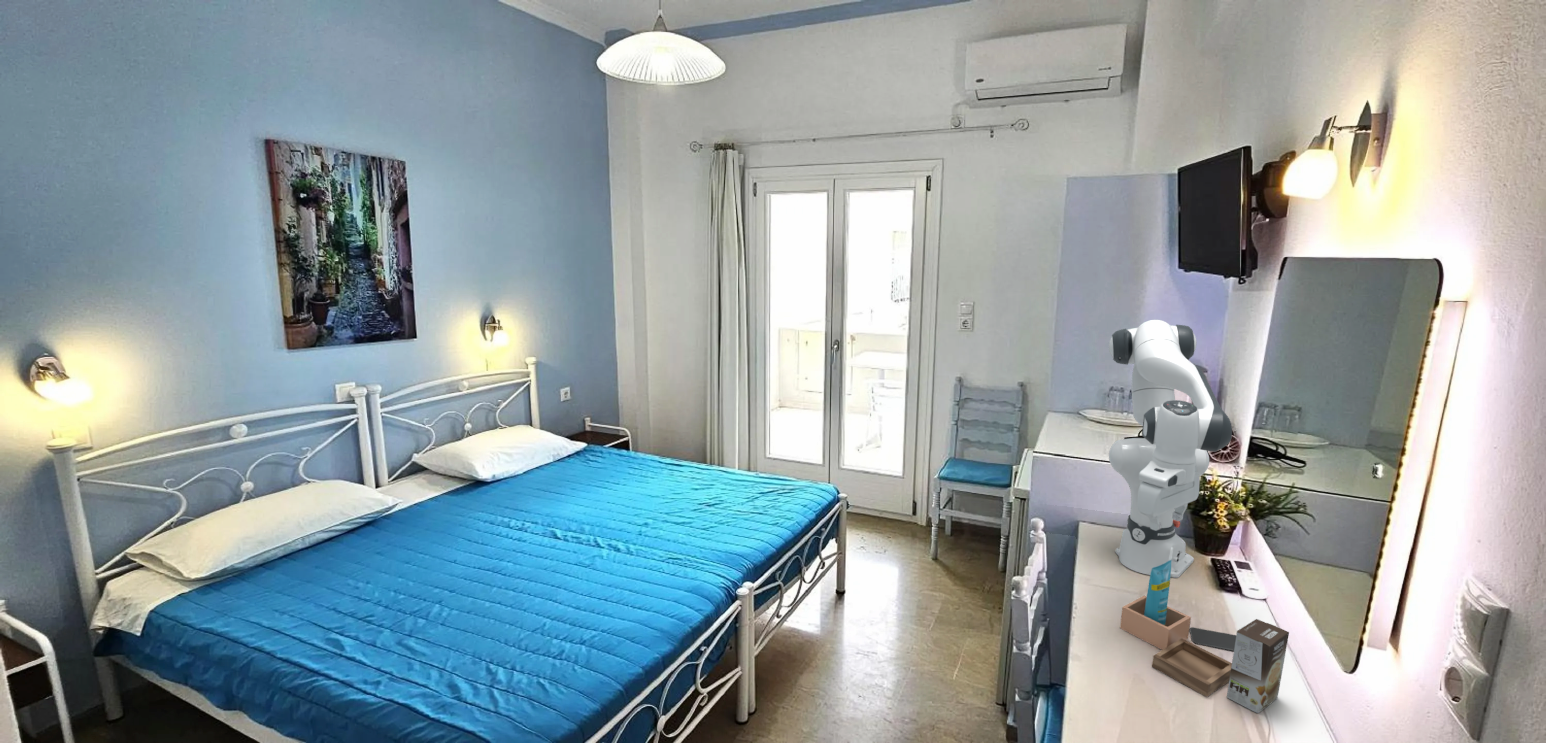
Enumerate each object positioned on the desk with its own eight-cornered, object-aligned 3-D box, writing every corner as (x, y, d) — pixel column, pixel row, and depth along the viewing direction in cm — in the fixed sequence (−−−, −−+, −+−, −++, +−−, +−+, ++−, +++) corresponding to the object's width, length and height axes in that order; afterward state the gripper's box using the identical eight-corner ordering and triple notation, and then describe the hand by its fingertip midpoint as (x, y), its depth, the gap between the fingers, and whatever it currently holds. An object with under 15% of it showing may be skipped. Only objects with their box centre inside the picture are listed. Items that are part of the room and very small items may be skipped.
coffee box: (1259, 715, 140) (1270, 646, 137) (1225, 697, 146) (1235, 631, 142) (1278, 697, 145) (1290, 631, 142) (1245, 681, 150) (1255, 617, 147)
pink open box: (1141, 616, 176) (1144, 595, 174) (1188, 638, 166) (1190, 616, 165) (1120, 628, 171) (1122, 606, 169) (1166, 652, 161) (1169, 629, 160)
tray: (1180, 649, 162) (1181, 638, 161) (1234, 677, 152) (1236, 665, 151) (1151, 666, 156) (1153, 655, 155) (1206, 696, 146) (1208, 684, 145)
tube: (1154, 643, 164) (1163, 571, 160) (1135, 633, 168) (1143, 563, 164) (1170, 632, 168) (1179, 562, 164) (1151, 623, 172) (1159, 554, 168)
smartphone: (1188, 625, 171) (1260, 638, 164) (1188, 629, 171) (1259, 642, 164) (1192, 642, 164) (1267, 656, 158) (1191, 645, 164) (1266, 660, 158)
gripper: (1183, 457, 167) (1176, 509, 170) (1134, 474, 156) (1129, 529, 159) (1210, 465, 161) (1203, 518, 164) (1161, 483, 151) (1155, 539, 154)
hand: (1166, 524), depth 162 cm, fingers open, 8 cm apart
